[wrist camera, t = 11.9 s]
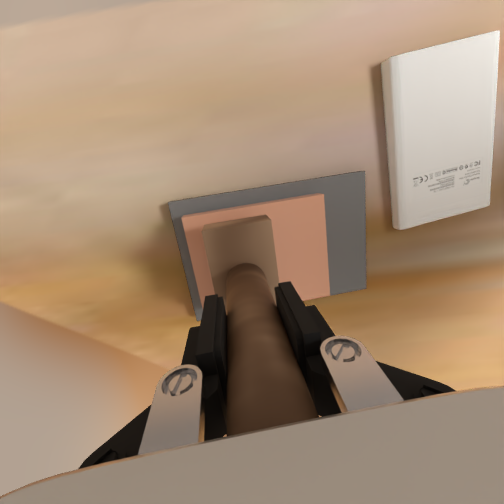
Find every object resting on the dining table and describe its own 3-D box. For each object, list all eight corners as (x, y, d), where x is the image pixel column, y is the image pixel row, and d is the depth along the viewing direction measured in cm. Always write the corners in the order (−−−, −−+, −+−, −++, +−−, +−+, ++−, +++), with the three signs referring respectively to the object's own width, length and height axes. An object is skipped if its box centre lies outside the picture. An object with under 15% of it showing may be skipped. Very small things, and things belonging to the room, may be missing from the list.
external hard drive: (480, 40, 19) (475, 203, 23) (376, 65, 19) (388, 227, 23) (503, 28, 18) (494, 205, 21) (390, 56, 17) (401, 231, 21)
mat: (359, 171, 20) (365, 171, 20) (361, 284, 23) (366, 288, 23) (170, 201, 19) (167, 202, 19) (197, 316, 22) (196, 321, 22)
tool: (265, 214, 17) (432, 385, 3) (278, 309, 19) (410, 649, 5) (204, 224, 16) (107, 452, 3) (224, 319, 18) (219, 699, 5)
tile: (323, 194, 18) (181, 217, 17) (330, 295, 20) (205, 320, 20) (316, 193, 19) (183, 214, 19) (323, 288, 22) (206, 311, 21)
